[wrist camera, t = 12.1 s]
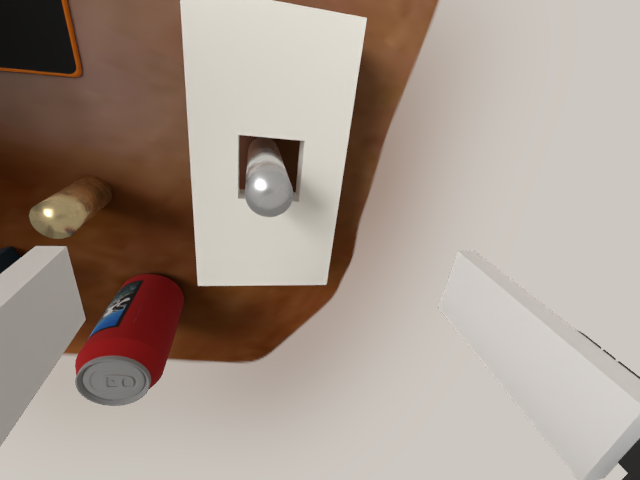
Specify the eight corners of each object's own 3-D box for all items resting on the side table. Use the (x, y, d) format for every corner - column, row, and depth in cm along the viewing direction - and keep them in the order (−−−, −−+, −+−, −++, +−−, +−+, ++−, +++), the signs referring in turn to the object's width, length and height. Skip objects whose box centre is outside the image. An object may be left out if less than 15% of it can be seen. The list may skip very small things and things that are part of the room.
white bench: (207, 249, 35) (197, 285, 29) (197, 6, 25) (179, -17, 19) (314, 250, 37) (326, 284, 31) (341, 31, 28) (366, 17, 22)
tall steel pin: (247, 166, 31) (244, 216, 20) (248, 135, 30) (245, 169, 19) (277, 168, 32) (291, 218, 21) (279, 138, 31) (295, 173, 19)
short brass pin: (79, 206, 30) (35, 238, 24) (72, 175, 29) (23, 201, 23) (114, 207, 31) (80, 239, 25) (109, 177, 30) (71, 203, 23)
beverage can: (121, 265, 34) (62, 350, 23) (189, 273, 36) (162, 355, 25) (120, 315, 36) (66, 411, 26) (182, 320, 38) (156, 412, 28)
